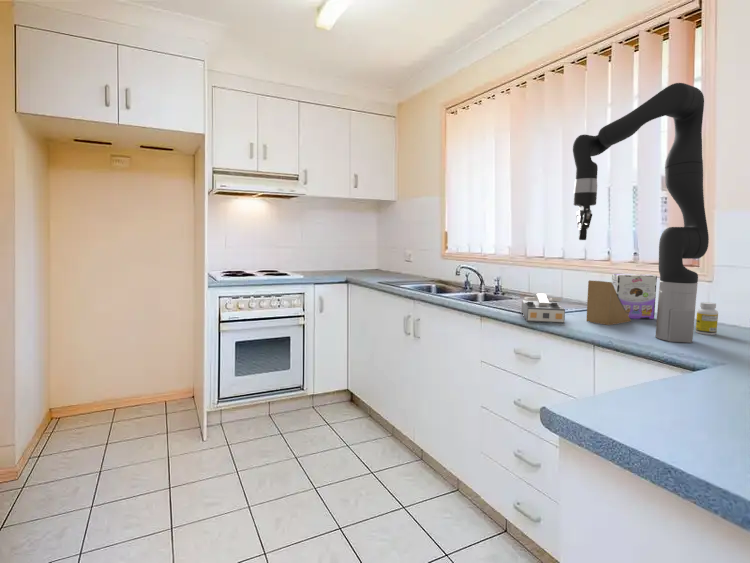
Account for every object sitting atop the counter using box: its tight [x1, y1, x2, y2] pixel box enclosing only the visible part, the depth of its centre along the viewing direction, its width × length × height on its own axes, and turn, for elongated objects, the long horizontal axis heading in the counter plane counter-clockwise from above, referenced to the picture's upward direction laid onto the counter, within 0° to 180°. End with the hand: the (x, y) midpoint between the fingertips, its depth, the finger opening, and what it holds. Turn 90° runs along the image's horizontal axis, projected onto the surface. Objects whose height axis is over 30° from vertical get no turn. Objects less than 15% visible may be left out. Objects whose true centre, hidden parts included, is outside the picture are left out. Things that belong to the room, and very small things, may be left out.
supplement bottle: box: [695, 301, 719, 336], centre depth 141 cm, size 5×5×10 cm
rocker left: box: [523, 296, 538, 301], centre depth 165 cm, size 9×3×1 cm, turn 168°
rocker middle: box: [535, 293, 549, 306], centre depth 164 cm, size 9×3×1 cm, turn 167°
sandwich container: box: [586, 280, 632, 326], centre depth 159 cm, size 9×15×15 cm, turn 123°
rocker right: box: [547, 297, 563, 303], centre depth 163 cm, size 9×3×1 cm, turn 168°
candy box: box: [611, 273, 658, 320], centre depth 167 cm, size 14×6×16 cm, turn 84°
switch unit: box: [520, 300, 566, 324], centre depth 164 cm, size 19×12×6 cm, turn 168°
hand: (582, 240), depth 163 cm, fingers closed
